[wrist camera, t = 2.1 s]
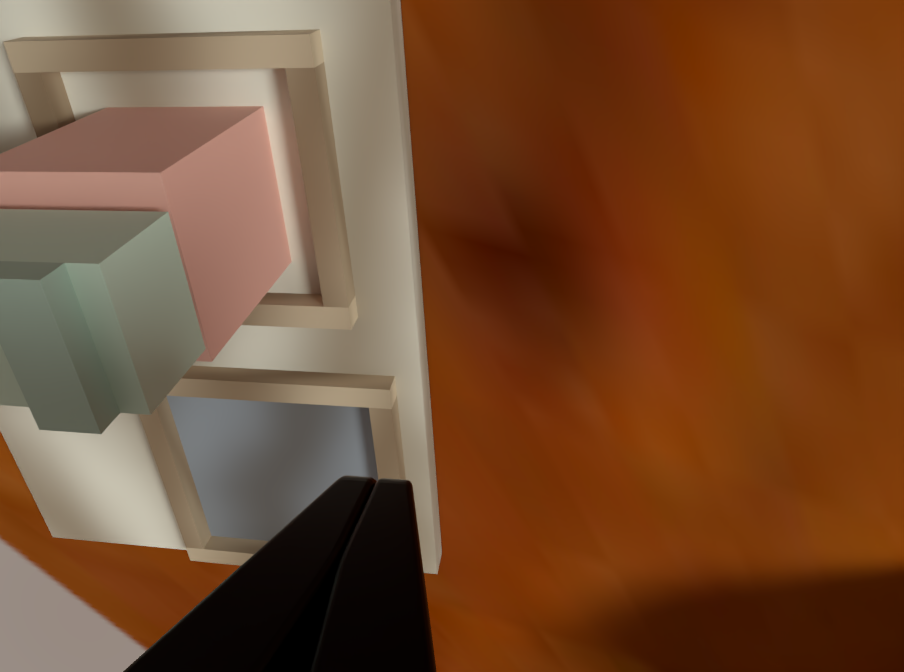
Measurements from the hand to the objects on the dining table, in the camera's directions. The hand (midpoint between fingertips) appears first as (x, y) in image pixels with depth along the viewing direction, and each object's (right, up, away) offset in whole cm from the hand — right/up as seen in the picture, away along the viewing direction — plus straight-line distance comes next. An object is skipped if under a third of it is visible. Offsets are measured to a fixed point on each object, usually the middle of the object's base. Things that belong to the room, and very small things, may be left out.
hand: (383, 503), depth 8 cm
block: (-6, +6, +10) cm, 13 cm away
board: (-8, +3, +14) cm, 16 cm away
